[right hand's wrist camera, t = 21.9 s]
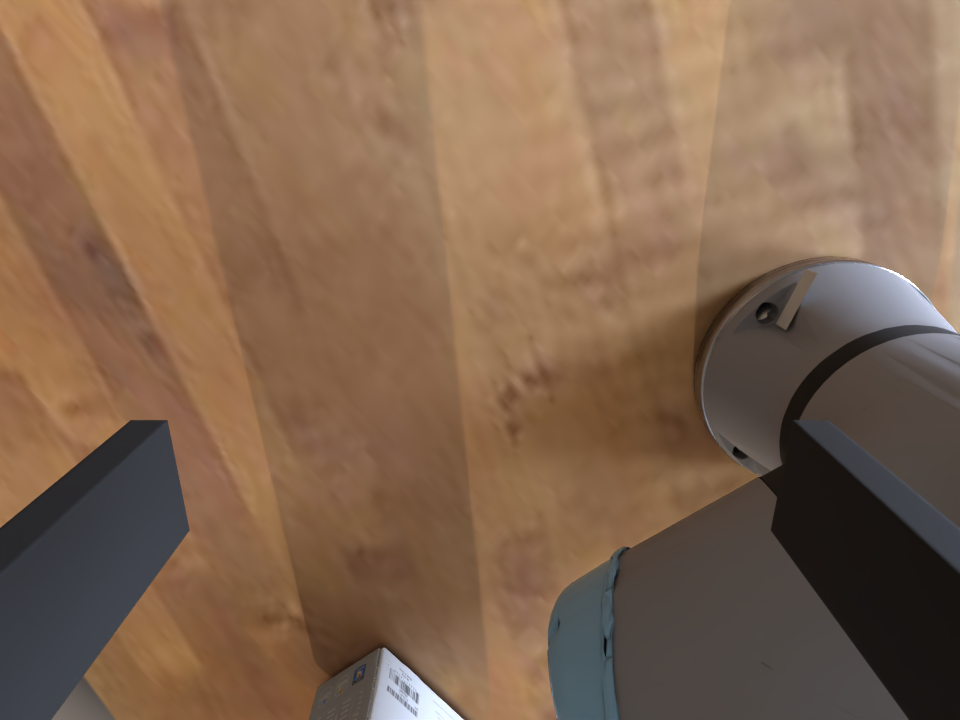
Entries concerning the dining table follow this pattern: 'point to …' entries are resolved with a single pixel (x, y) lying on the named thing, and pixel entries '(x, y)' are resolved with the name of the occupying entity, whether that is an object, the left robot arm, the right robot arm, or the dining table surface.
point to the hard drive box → (378, 693)
